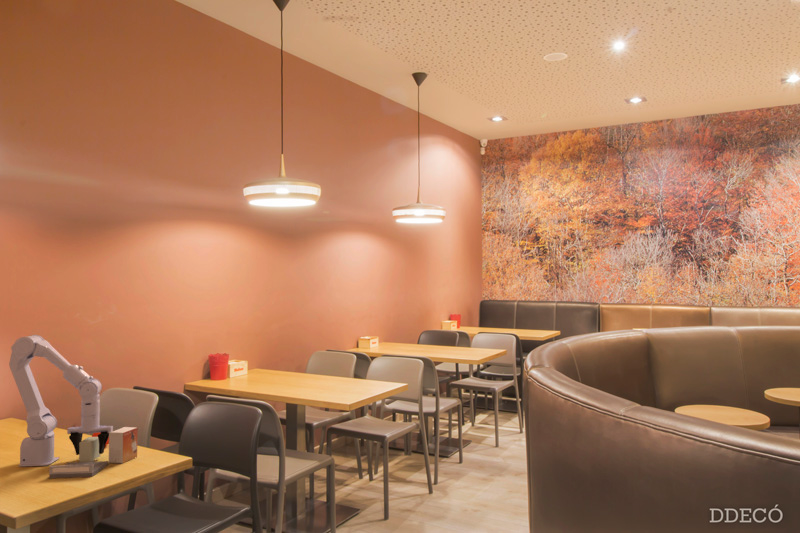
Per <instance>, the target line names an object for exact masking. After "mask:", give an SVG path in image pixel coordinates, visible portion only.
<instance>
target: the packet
mask: <svg viewBox="0 0 800 533" xmlns="http://www.w3.org/2000/svg"><path fill="white" fill-rule="evenodd" d="M78 456H79V457H78V462H95V461H96V460H97V459H99V458H100V457H101V454H99V439H98V437H92V436H88V437H87V438H85V439H82V441H81V442H79V455H78ZM98 457H99V458H98ZM95 459H96V460H95Z"/></svg>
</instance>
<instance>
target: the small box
mask: <svg viewBox="0 0 800 533" xmlns="http://www.w3.org/2000/svg"><path fill="white" fill-rule="evenodd" d="M135 457H136V458H138V427H135V426H134V427H132V426H131V427H130V426H123V427H121V428H118V429H115V430H113V431H112V432H109V444H108V464H110V463H111V464H124V463H126V462H128V461H131V460H133V458H134V459H136V458H135Z"/></svg>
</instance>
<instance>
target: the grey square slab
mask: <svg viewBox="0 0 800 533" xmlns="http://www.w3.org/2000/svg"><path fill="white" fill-rule="evenodd" d="M108 465H109V460H106V461H105V460H103V461H102V460H101V461H93V462H79V461H78V462H77V461H74V462H67V463H65V464H64V465H63V464H62V465H61V464H60V465H50V466H49V468H48V469H49V470H48V472H49V473H48V475H49V476H48V478H49V479H63V478H64V479H67V478H68V479H69V478H70V479H71V478H85V477H86V478H91V477H94V476H95V475H97V474H98V473H99V472H101V471H102V470H104V469H105V468H106V467H107V466H108Z"/></svg>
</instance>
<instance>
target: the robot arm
mask: <svg viewBox="0 0 800 533" xmlns="http://www.w3.org/2000/svg"><path fill="white" fill-rule="evenodd" d="M10 348H11V354H10V358H9V362H8V366H9V369H10V372H11V374H12V376H13V380H14V382H15V385H16V387H17V389H18V392H19V394H20V398H21V399H22V403H23V405H24V407H25V410H26V418H25V422H26V425H27V427H26V433H27V436H28V437H25V438H23V439H22V441H21V443H20V448H19V450H20V451H19V453H20V454H19V465H18V467H38V466H39V467H41V466H44V467H45V466H49V465H51V464H53V463H54V462H55V461H58V460H60V457H59V456H55V432H54V430H55V429H56V427H57V426H58V420H57V418H56V417H55V415H53V414H52V412H51V410H50V409H49V408H48V407H46V406H45V404H44V401H43V398H42V396H41V392H40V391H39V390H40V389H39V387H38V384H37V382H36V379H35V377H34V374H33V371H32V370H31V367H30V363H31V362H32V360H33V359H34V357H40V358H44V359H46V360H47V361H48V362H50V363H51V364H52V365H54V366H55V367H56V368H58V369H59V370H60V371H61V372H62V378H64V379H65V381H67V382H68V383H69V384H71V386H73V387H74V388H75V389H76V390H78V394H79V396H80V397H81V401H80V402H81V404H80V405H81V406H80V409H81V411H80V412H81V413H80V426H72V427H71V426H70V427H68V428H67V430H66V431H67V435H69V437H68V439H69V440H70V442H71V444H72V445H73V448H74V450H75V455H76V456H79V442H81V441H83V434H93V433H101V434H99V435H98V439H99V454H100V455H102V454H103V453H104V452H105V448H106V446H107V445H106V442H107V440H108V438H109V432H112V431H114V426H113V425H100V416H101V408H100V407H101V402H100V401H101V400H100V399H101V398H100V396H101V395H100V393H101V391H102V387H103V384H102V383H101V381H100V380H99V379H98V378H94V376H93V375H90V374H89V373H87V372H86V371H85V370H84V366H82V365H80V366H79V365H78V364H71V363H70V362H69V361H68V360H67V359H66V358H65V357H64V356H63V355H62V354H61V353H60V352H59V351H57V349H55V348H54V347H53V346H52V345H51V343H50V342H49V341H48V340H46V339H44V338H43V337H42V336H41V335H38V334H33V335H29V336H21V337H19V338H17V339H16V340H15V341H14V343H13V344H12V345H11V347H10ZM105 445H106V446H105Z"/></svg>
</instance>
